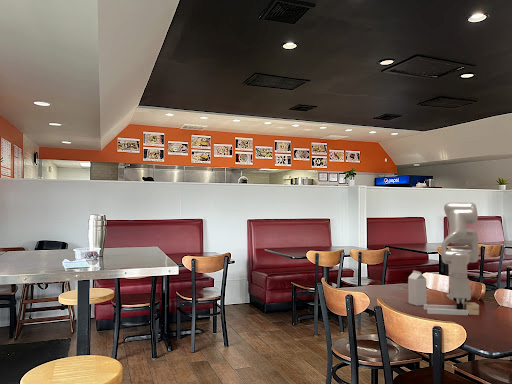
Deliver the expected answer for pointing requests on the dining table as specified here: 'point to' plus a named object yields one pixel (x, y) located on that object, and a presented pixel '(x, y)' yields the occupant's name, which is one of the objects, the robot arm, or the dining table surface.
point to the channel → (444, 310)
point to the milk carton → (417, 289)
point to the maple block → (471, 308)
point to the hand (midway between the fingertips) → (459, 310)
